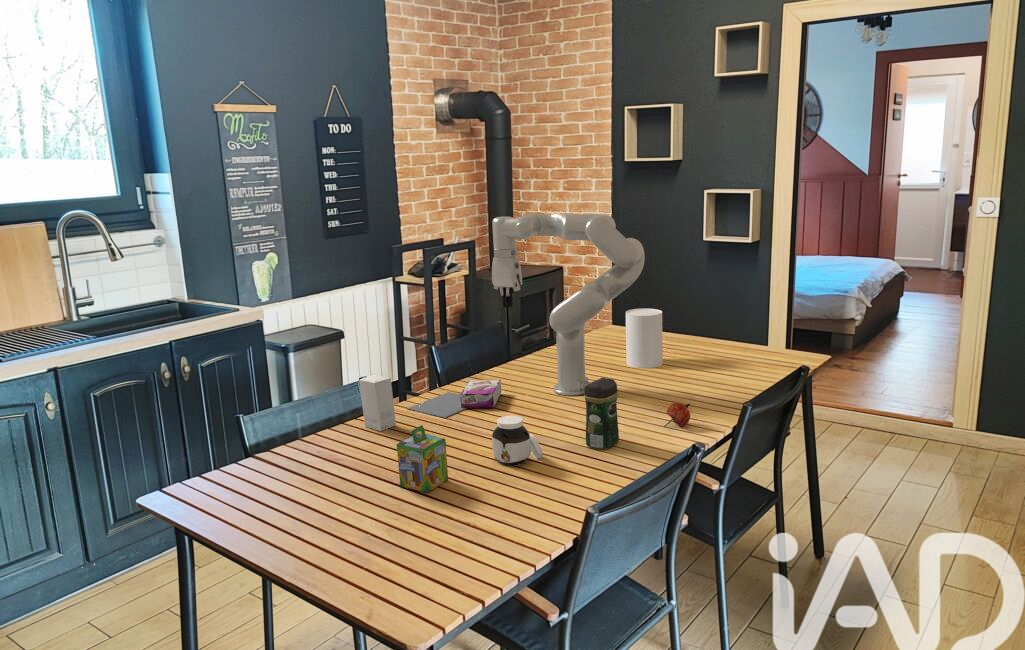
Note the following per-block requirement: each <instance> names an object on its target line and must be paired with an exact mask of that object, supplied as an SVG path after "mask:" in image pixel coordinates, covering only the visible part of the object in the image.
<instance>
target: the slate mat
mask: <svg viewBox="0 0 1025 650" xmlns="http://www.w3.org/2000/svg"><path fill="white" fill-rule="evenodd" d="M460 394H461V393H460ZM460 394H458V393H456V392H455V393H454V392H449V391H447V392H445V393H443V394H440V395H437V396H435V397H433V398H430V399H427V400H425V401H423V402H424V403H422V402H419V403H417V404H418V405H417V404H414V405H412V406H410V407H407V408H406V410H407V409H411V410H415V411H418V412H417V413H420V412H422V413H421V414H424V413H426V414H425V415H428V414H431V415H430V416H432V415H435V416H434V417H437V416H438V418H441V417H442V419H446V418H448V417H451V415H452V416H454V415H456V414H458V412H459V413H461V412H463V411H466V410H468V409H469V408H461V398H460ZM421 403H422V404H421ZM419 404H420V407H419ZM465 409H466V410H465ZM411 410H410V411H411ZM415 411H414V412H415ZM460 411H461V412H460Z"/></svg>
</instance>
